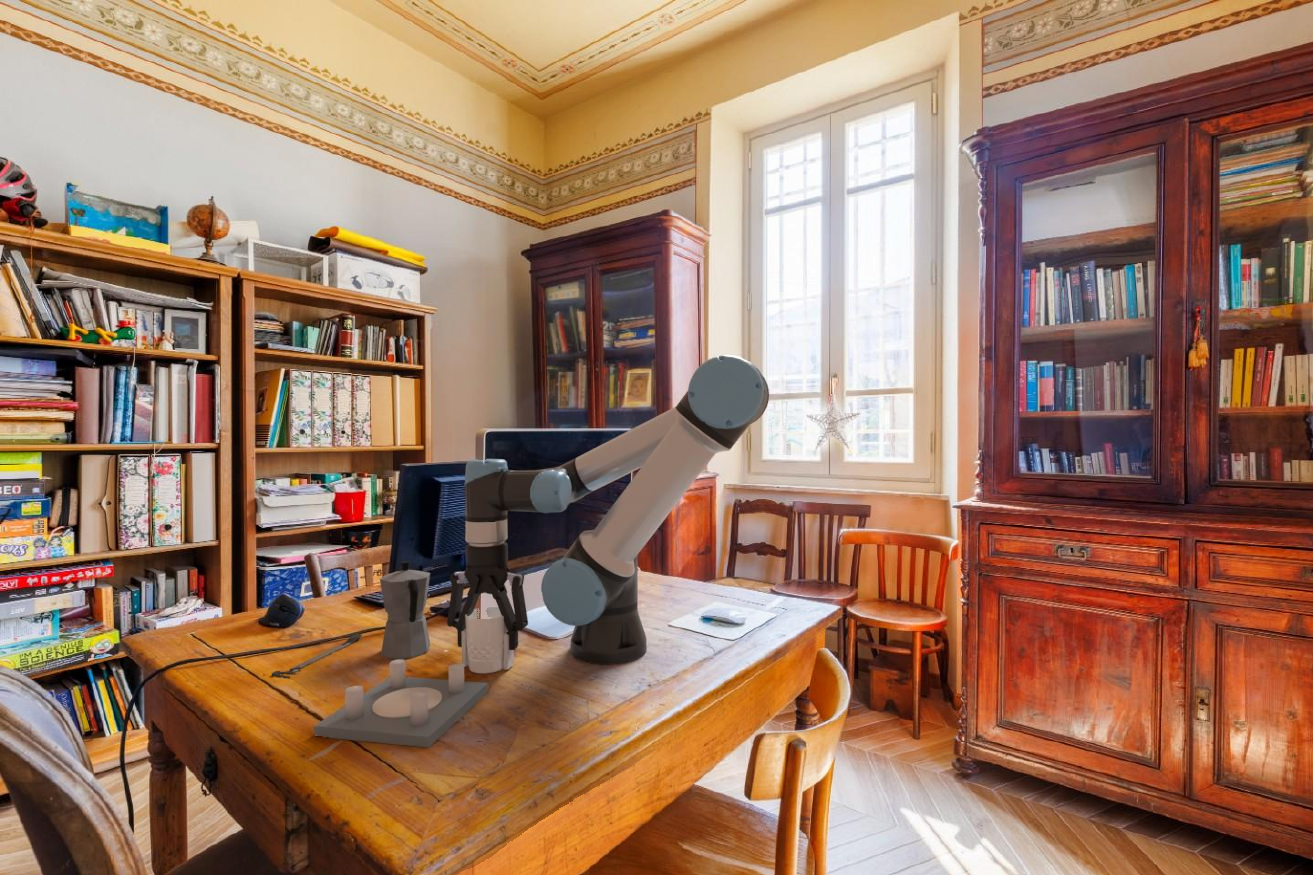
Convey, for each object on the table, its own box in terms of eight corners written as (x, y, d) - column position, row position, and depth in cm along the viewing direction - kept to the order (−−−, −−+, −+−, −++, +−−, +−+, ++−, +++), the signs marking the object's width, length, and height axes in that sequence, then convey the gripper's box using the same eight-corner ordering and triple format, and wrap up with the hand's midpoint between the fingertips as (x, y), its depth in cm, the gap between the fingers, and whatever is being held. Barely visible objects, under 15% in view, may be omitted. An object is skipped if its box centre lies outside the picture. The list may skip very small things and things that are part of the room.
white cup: (471, 659, 115) (470, 607, 115) (512, 657, 115) (512, 606, 115) (461, 676, 107) (460, 620, 107) (506, 674, 108) (505, 618, 108)
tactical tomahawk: (299, 686, 106) (300, 679, 106) (269, 679, 107) (269, 673, 107) (381, 642, 126) (382, 637, 126) (355, 637, 128) (355, 632, 128)
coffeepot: (375, 645, 122) (374, 558, 122) (423, 637, 128) (422, 552, 127) (388, 671, 110) (387, 572, 109) (441, 660, 115) (440, 566, 114)
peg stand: (488, 691, 100) (487, 659, 100) (428, 747, 83) (428, 707, 83) (391, 684, 104) (390, 652, 104) (314, 736, 86) (313, 698, 86)
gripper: (546, 540, 113) (547, 661, 113) (446, 537, 117) (447, 654, 117) (531, 547, 105) (532, 677, 106) (425, 544, 109) (426, 669, 109)
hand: (488, 665), depth 111 cm, fingers closed on white cup, 8 cm apart
